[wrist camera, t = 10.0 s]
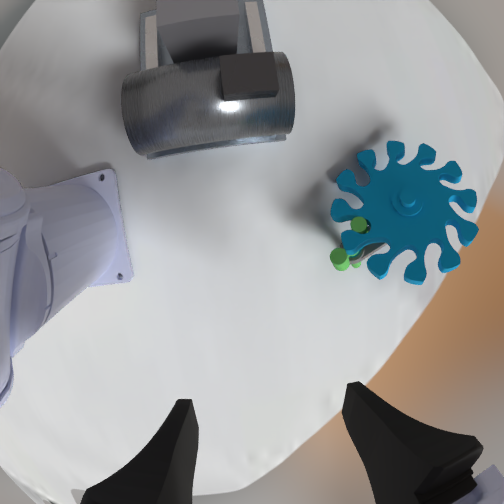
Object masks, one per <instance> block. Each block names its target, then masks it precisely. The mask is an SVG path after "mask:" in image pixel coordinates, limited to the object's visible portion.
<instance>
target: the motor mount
mask: <svg viewBox="0 0 504 504" xmlns="http://www.w3.org/2000/svg"><path fill="white" fill-rule="evenodd" d="M238 7H239V13H240V17H239V29H238V43H237V54H231V55H222V56H217V57H209V58H202V59H196V60H190V61H184V62H179V63H173V60H172V58H171V56H170V54H169V52H168V50H167V48H166V46H165V44H164V42H163V40H162V38H161V35H160V33H159V31H158V29H157V27H156V10H152V11H148V12H144V13H141V15H140V66H141V71H139V72H135V73H132V74H128V75H127V76H126V77H125V79H124V82H123V86H122V94H121V104H122V114H123V120H124V125H125V129H126V132H127V135H128V138H129V141H130V143H131V145H132V147H133V148H134V150H135V151H136V152H137V153H138V154H139V155H145V154H147V159H149V160H151V159H156V158H161V157H166V156H172V155H177V154H183V153H189V152H195V151H201V150H207V149H214V148H221V147H229V146H237V145H245V144H254V143H264V142H275V141H285V140H286V134H290V132H291V131H292V128H293V124H294V117H295V92H294V83H293V77H292V72H291V68H290V64H289V61H288V59H287V57H286V55H285V54H284V53H283V52H273V50H272V45H271V39H270V34H269V28H268V23H267V18H266V13H265V8H264V3H263V0H238Z"/></svg>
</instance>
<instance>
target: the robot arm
mask: <svg viewBox="0 0 504 504" xmlns="http://www.w3.org/2000/svg"><path fill="white" fill-rule="evenodd" d="M102 174H104V176H105V178H104V180H103V181H102V180H101V179H100V177H101V175H102ZM118 273H121V274H122V275H123V278H120V277H119V276H118ZM133 277H134V273H133V268H132V264H131V259H130V255H129V250H128V245H127V240H126V235H125V230H124V224H123V219H122V213H121V207H120V200H119V194H118V187H117V179H116V173H115V171H114V170H113V169H104V170H100V171H97V172H93V173H89V174H86V175H82V176H79V177H75V178H72V179H69V180H65V181H62V182H59V183H56V184H53V185H50V186H47V187H36V188H26V189H23V188H22V186H21V184H20V182H19V181H18V180H17V178H15V177H14V176H13V175H12V174H11V173H9V172H8V171H6V170H4V169H2V168H1V167H0V408H1V407H2V406H3V405H4V403H5V402H6V401H7V399H8V397H9V395H10V393H11V390H12V387H13V380H14V374H13V365H12V358H11V357H14V356H15V355H16V354H17V353H18V352H19V351H20V350H21V349H22V348H23V347H24V342H25V340H27V339H28V338H30V337H31V336H32V335H34V334H35V333H36V332H37V331H38V330H39V329H40V328H41V327H42V326H43V325H44V324H46V323H47V322H48V321H49V320H50V319H51V318H52V317H53V316H54V315H56V314H57V313H58V312H59V311H60V310H61V309H62V308H64V307H65V306H66V305H67V304H68V303H69V302H70V301H72V300H73V299H74V298H75V297H76V296H78V295H79V294H80V293H81V292H82V291H83V290H85V289H86V288H87V287H93V286H101V285H110V284H118V283H126V282H130V281H131V280H132V279H133ZM342 415H343V419H344V422H345V425H346V428H347V430H348V432H349V435H350V437H351V439H352V441H353V443H354V445H355V447H356V449H357V451H358V453H359V455H360V457H361V459H362V461H363V463H364V466H365V468H366V471H367V474H368V477H369V480H370V484H371V487H372V491H373V494H374V498H375V502H376V504H504V477H503V475H502V474H501V473H500V471H499V470H498V469H497V467H496V466H495V465H491V466H490V467H489V468H487V469H486V470H484V471H483V472H482V473H480V474H479V475H478V476H476V477H475V478H474V479H473V477H472V476H471V475H472V474H473V470H472V469H471V467H472V466H473V464H474V463H475V462H476V461H477V459H478V458H479V457H480V455H481V454H482V451H483V446H482V445H481V443H480V442H479V441H478V440H477V439H476V437H475V436H470V435H463V434H457V433H452V432H448V431H444V430H440V429H437V428H434V427H432V426H429V425H426V424H424V423H422V422H419V421H417V420H415V419H413V418H411V417H409V416H407V415H406V414H404V413H402V412H401V411H399V410H397V409H396V408H394V407H393V406H391V405H390V404H388V403H387V402H385V401H384V400H383V399H381V398H380V397H379V396H377V395H376V394H375V393H374V392H372V391H371V390H369V389H368V388H367V387H366V386H365V385H363V384H362V383H361V382H359V381H358V382H353V383H348V384H347V388H346V394H345V399H344V404H343V409H342ZM198 438H199V427H198V423H197V419H196V415H195V411H194V407H193V403H192V399H178V400H177V401H176V403H175V405H174V407H173V408H172V410H171V412H170V413H169V415H168V417H167V418H166V420H165V421H164V423H163V424H162V426H161V427H160V428H159V430H158V431H157V433H156V434H155V435H154V436H153V438H152V439H151V440H150V441H149V443H148V444H147V445H146V446H145V447H144V448H143V449H142V450H141V451H140V452H139V453H138V454H137V455H136V456H135V457H134V458H133V459H132V460H131V461H130V462H129V463H127V464H126V465H125V466H124V467H123V468H121V469H120V470H119V471H117V472H116V473H114V474H113V475H111V476H110V477H108V478H107V479H105V480H103V481H102V482H100V483H98V484H96V485H94V486H92V487H90V488H88V489H86V491H85V493H84V495H83V498H82V500H81V503H80V504H192V487H193V479H194V472H195V465H196V458H197V451H198Z"/></svg>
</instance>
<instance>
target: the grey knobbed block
mask: <svg viewBox="0 0 504 504" xmlns="http://www.w3.org/2000/svg"><path fill="white" fill-rule="evenodd" d="M239 17H240V13H239V7H238V0H156V27H157V29H158V31H159V33H160V35H161V38H162V40H163V42H164V44H165V46H166V48H167V50H168V52H169V54H170V56H171V58H172V60H173V63H179V62H184V61H190V60H196V59H202V58H209V57H217V56H222V55H231V54H237V43H238V29H239Z"/></svg>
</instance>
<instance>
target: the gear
mask: <svg viewBox="0 0 504 504" xmlns="http://www.w3.org/2000/svg"><path fill="white" fill-rule="evenodd" d="M387 154H388V156H389V159H390V160H389V163H388V165H387V167H386V168H385V169H384V170H381V171H379V170H376V169H374V168H375V166H376V156H375V152H374V151H373V150H372V149H370V150H365V151H362V152H360V153H357V158H358V163H359V166H360V167H361V168H363V169H364V170H365V171H366V172H367V173H368V175H369V177H370V183H369V184H368V185H367V186H359V185H357V184H356V180H355V175H354V173H353V172H352V171H351V170H348V169H346V170H344V171H343V172H342V173H341V174H340V175H339V176H338V177H337V179H336V181H337V184H338V187H339V189H340V190H342V191H344V192H349V193H352V194H354V195H356V196H357V197H358V198H359V199H360V200H361V201H362V202H363V204H364V205H363V206H362V207H361V208H360V209H352V208H351V207H350V206H349V205H348V203H347V202H346V201H345V200H343V199H335V200H334V202H333V204H332V207H331V217H332V219H333V220H334V221H335V222H344V221H349V220H352V221H351V224H350V225H351V229H352V230H346V231H344V232H342V233H341V240H342V243H341V245H340V248H336V249H334V250H333V251H332V252H331V254H330V260H331V262H332V263H333V265H334V267H335V268H336V269H337V270H339V271H344V270H346V269H347V268H348V267H349V264H352V266H353V267H354V268H358V267H359V266H360V265H361V261H362V260H363V259H365V258H367V257H368V256H370V255H371V254H373V253H374V252H376V251H377V250H379V249H380V248H382V247H383V246H385V245H386V244H388V245H389V246H390V250H389V251H388V252H387V253H385V254H375V255H372V256H371V257H370V258H369V259H368V261H367V267H368V269H369V271H370V272H371V273H372V274H373V275H374V276H375V277H377V278H378V279H379V280H380V279H383V278H384V277H385V276H386V275H387V273H388V269H389V267H390V264H391V263H392V261H393V260H394V259H395V257H396V256H398V255H399V254H400V253H402V252H403V251H405V250H412V251H414V252H415V254H416V256H417V258H416V259H415V260H414V261H413V262H411V263H410V264H409V265H408V266H407V267H406V269H405V273H404V281H406V282H408V283H411V284H415V285H422V284H423V282H424V280H425V278H426V274H427V273H426V268H425V264H424V255H425V250H426V248H427V246H428V245H429V244H431V243H436V244H438V245H439V246H440V247H441V251H442V252H441V256H440V258H439V261H438V267H439V270H440V271H441V272H442V273H446V272H449V271H452V270H454V269H456V268H457V267H458V266H459V265H460V256H459V254H458V253H457V252H456V251H455V250H454V249H453V248H452V246H451V245H450V243H449V241H448V238H447V234H446V229H445V226H447V225H452V226H454V227H455V228H456V230H457V233H458V238H459V241H460V243H461V244H462V245H464V246H466V247H467V246H468V245H470V244H471V242H472V241H473V239H474V238H475V236H476V234H477V232H478V230H479V229H478V227H477V226H476V224H474V223H473V222H470V221H467V220H464V219H463V218H461V217H460V216H459V215H457V214H456V212H455V211H454V210H453V209H452V208H451V206H450V205H449V202H456V203H457V204H458V205H459V206H460V207H461V208H462V210H463V211H465V212H467V213H473V211H474V209H475V207H476V203H477V196H476V192H475V191H474V190H472V189H466V190H453V189H450V188H448V187H446V186H444V185H442V184H441V183H440V182H439V181H440V180H446V181H448V182H450V183H454V184H456V183H459V182H460V180H461V177H462V171H461V169H460V167H459V166H458V164H457V163H456V162H455V161H449V162H448V163H447V164H446V165H445V166H444V167H442V168H440V169H437V170H424V169H422V168H421V167H420V166H422V165H431V164H433V163H434V161H435V156H436V151H435V150H434V149H433V148H431V147H430V146H428V145H426V144H424V143H423V144H421V145H420V146H419V149H418V154H417V156H416V157H415V158H414V159H413V160H412V161H411V162H409V163H408V164H406V165H401V164H399V163H397V162H398V161H399V160H401V159H402V158H403V157H404V155H405V146H404V143H402V142H398V141H388V142H387ZM367 225H369V226H368V227H367Z"/></svg>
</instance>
